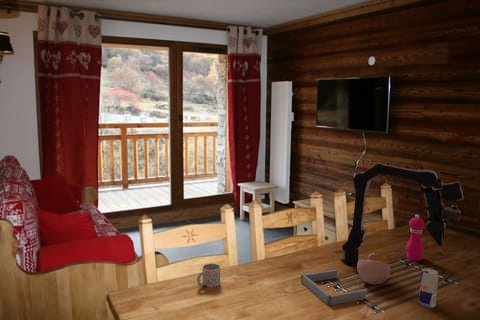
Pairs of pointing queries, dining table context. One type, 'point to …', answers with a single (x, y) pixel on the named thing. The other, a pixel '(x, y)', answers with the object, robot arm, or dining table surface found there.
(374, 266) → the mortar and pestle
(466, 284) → the dining table surface
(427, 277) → the energy drink
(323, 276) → the grey frame
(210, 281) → the mug
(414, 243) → the pepper mill
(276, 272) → the dining table surface
